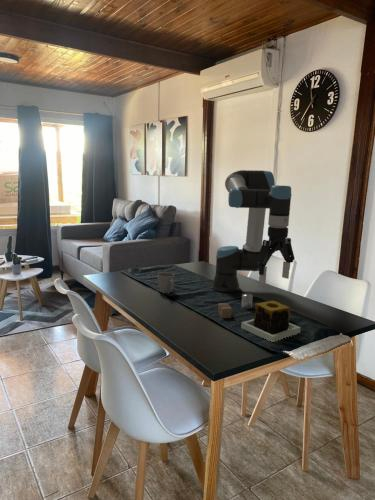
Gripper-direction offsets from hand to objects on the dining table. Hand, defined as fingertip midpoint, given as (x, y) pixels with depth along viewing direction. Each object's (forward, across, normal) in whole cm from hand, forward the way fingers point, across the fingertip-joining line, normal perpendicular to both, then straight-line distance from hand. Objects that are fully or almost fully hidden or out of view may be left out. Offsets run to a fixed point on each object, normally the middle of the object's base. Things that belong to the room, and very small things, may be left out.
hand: (274, 280), depth 145 cm
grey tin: (+21, +12, +25) cm, 35 cm away
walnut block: (+21, -4, +23) cm, 31 cm away
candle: (+20, 0, 0) cm, 21 cm away
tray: (+21, 0, 0) cm, 21 cm away
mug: (+21, -8, +63) cm, 67 cm away
